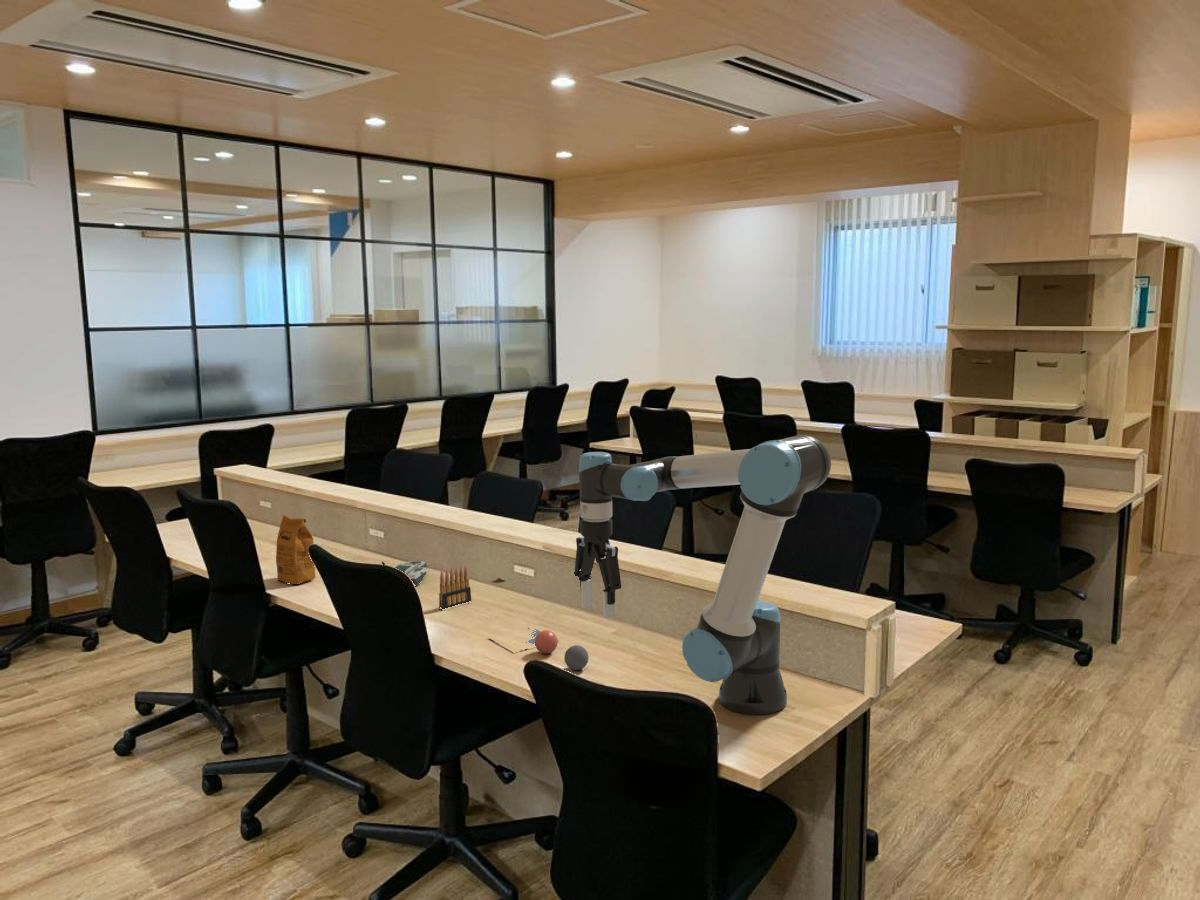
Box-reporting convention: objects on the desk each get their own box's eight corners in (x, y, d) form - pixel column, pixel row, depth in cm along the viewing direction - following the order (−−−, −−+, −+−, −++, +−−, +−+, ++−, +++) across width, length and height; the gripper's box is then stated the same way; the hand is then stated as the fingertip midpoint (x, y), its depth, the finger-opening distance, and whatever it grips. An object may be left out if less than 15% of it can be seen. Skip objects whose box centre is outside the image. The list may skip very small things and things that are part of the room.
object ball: (562, 653, 238) (561, 631, 237) (542, 658, 235) (542, 636, 234) (550, 646, 243) (549, 625, 242) (530, 652, 239) (530, 630, 238)
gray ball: (593, 670, 227) (593, 646, 226) (573, 675, 223) (572, 652, 222) (579, 662, 232) (579, 640, 231) (559, 668, 228) (559, 645, 227)
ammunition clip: (468, 601, 283) (466, 563, 281) (471, 602, 281) (470, 564, 280) (439, 609, 275) (437, 570, 273) (442, 610, 274) (441, 572, 272)
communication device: (437, 569, 320) (436, 545, 319) (417, 589, 296) (416, 563, 295) (403, 569, 321) (402, 544, 320) (381, 589, 298) (380, 562, 296)
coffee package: (298, 574, 315) (294, 511, 312) (320, 580, 308) (315, 516, 304) (272, 581, 308) (268, 517, 304) (294, 587, 300) (289, 521, 297)
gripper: (558, 513, 220) (560, 603, 224) (610, 529, 203) (611, 627, 207) (583, 508, 224) (585, 598, 228) (636, 524, 207) (637, 620, 211)
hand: (597, 611), depth 217 cm, fingers open, 8 cm apart
